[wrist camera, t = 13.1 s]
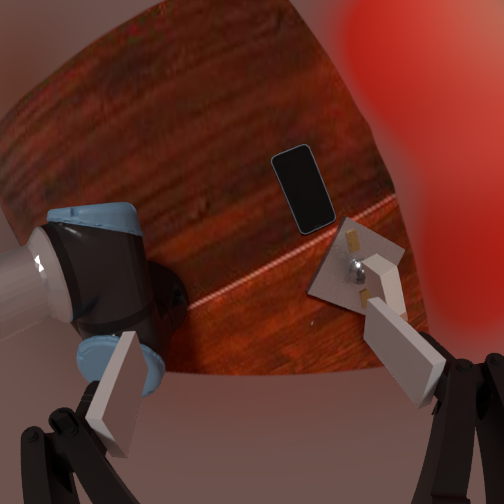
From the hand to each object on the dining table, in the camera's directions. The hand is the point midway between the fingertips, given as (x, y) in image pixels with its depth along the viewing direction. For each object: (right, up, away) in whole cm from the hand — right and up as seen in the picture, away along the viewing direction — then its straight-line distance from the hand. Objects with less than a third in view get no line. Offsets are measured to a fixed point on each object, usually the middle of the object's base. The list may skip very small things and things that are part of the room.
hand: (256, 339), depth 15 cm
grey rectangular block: (+21, 0, +34) cm, 40 cm away
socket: (+21, +1, +41) cm, 46 cm away
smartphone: (+9, +16, +36) cm, 40 cm away
